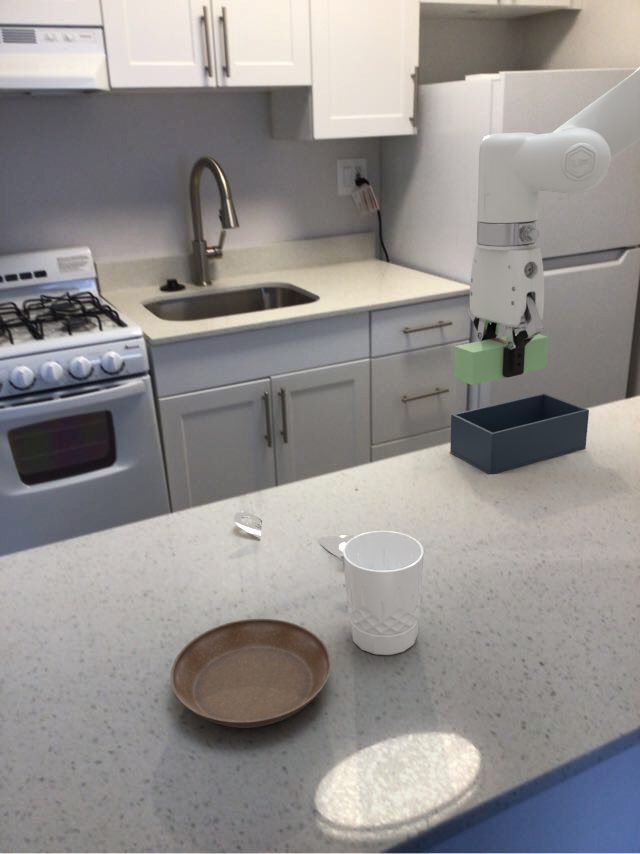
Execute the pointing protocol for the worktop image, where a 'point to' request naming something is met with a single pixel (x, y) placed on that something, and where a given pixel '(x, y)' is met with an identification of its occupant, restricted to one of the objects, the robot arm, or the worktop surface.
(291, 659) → the saucer
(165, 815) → the worktop surface
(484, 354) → the light green rectangular block
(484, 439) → the bin
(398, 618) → the white cup
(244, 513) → the ceramic shards
